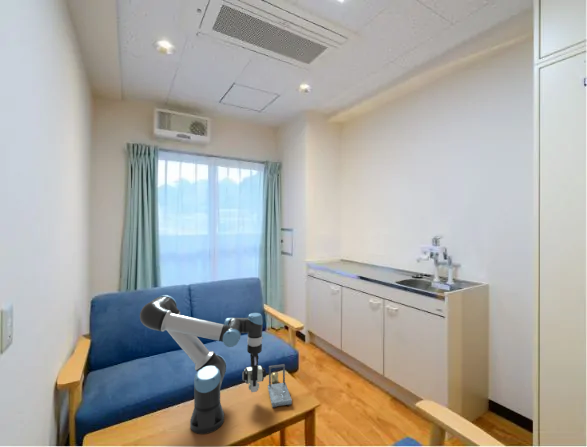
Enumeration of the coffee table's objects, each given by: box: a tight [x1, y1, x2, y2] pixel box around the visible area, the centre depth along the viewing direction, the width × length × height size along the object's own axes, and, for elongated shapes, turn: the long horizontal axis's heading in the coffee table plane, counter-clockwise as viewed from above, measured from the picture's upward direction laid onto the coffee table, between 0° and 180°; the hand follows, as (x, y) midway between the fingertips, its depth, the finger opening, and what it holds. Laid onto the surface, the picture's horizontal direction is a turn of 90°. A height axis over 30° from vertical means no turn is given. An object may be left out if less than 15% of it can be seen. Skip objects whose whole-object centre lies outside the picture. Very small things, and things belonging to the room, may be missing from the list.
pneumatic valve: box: [241, 365, 267, 391], centre depth 144 cm, size 6×12×12 cm, turn 110°
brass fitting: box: [271, 371, 279, 384], centre depth 161 cm, size 4×4×5 cm
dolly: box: [267, 363, 293, 409], centre depth 147 cm, size 10×16×14 cm, turn 13°
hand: (253, 388), depth 144 cm, fingers closed on pneumatic valve, 5 cm apart
